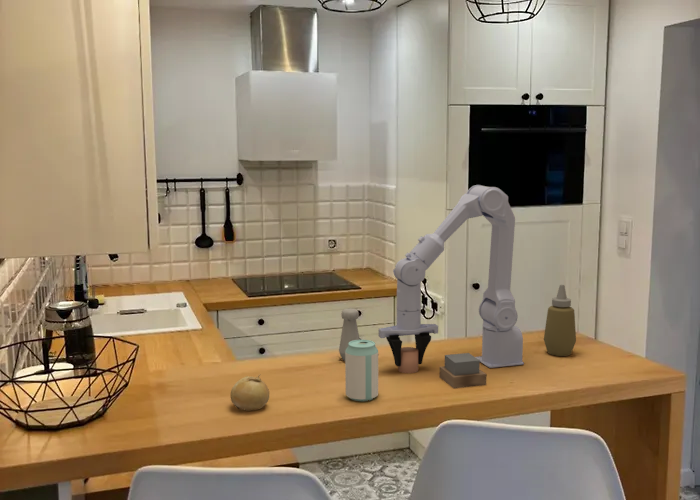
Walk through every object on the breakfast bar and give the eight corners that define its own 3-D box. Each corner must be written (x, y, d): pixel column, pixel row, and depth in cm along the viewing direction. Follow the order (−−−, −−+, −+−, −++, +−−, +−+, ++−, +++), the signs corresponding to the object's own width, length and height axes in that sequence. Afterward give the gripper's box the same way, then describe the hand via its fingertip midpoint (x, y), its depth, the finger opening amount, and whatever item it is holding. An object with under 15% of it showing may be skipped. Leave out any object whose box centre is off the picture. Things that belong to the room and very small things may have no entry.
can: (341, 393, 156) (340, 340, 154) (370, 389, 159) (370, 337, 157) (352, 404, 150) (352, 349, 148) (383, 400, 152) (383, 345, 150)
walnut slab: (470, 375, 169) (470, 363, 168) (486, 386, 161) (486, 374, 161) (439, 379, 167) (439, 366, 166) (453, 390, 159) (453, 377, 159)
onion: (233, 416, 144) (232, 382, 143) (228, 402, 151) (227, 370, 150) (272, 412, 146) (272, 378, 145) (266, 398, 154) (265, 367, 152)
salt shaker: (362, 356, 183) (362, 306, 181) (361, 363, 177) (360, 312, 175) (340, 355, 183) (339, 306, 181) (337, 362, 178) (337, 311, 176)
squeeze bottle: (579, 351, 186) (582, 284, 183) (570, 360, 179) (573, 289, 176) (548, 347, 190) (550, 280, 187) (539, 355, 183) (541, 286, 180)
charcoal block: (468, 365, 167) (468, 352, 167) (479, 373, 161) (479, 360, 161) (444, 367, 166) (444, 355, 165) (454, 375, 160) (454, 362, 159)
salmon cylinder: (413, 366, 175) (414, 346, 174) (421, 372, 170) (421, 351, 170) (395, 367, 174) (395, 348, 173) (402, 374, 169) (402, 353, 168)
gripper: (430, 303, 175) (429, 356, 178) (374, 307, 171) (374, 362, 174) (442, 309, 169) (441, 365, 171) (383, 314, 165) (383, 370, 167)
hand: (408, 364), depth 172 cm, fingers closed on salmon cylinder, 5 cm apart
